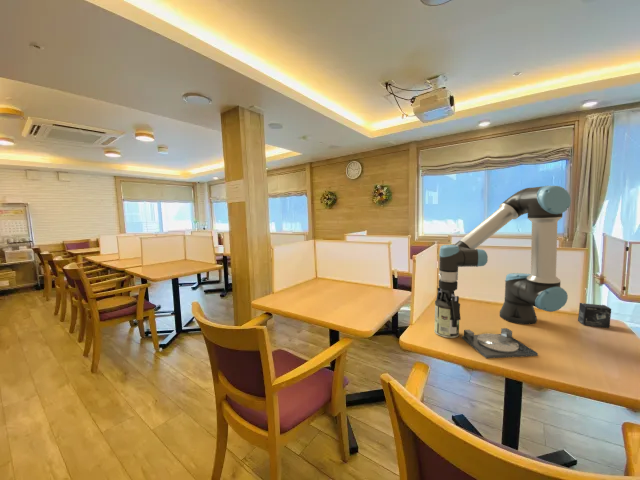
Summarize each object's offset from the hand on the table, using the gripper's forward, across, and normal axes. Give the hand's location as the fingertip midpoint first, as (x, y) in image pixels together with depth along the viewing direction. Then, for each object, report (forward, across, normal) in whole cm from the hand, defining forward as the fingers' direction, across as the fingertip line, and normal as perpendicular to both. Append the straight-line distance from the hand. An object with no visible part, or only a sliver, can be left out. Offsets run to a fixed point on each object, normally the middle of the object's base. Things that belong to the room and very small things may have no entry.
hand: (446, 328), depth 122 cm
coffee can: (+3, 0, 0) cm, 3 cm away
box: (+3, -2, +72) cm, 72 cm away
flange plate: (+2, +14, +14) cm, 20 cm away
